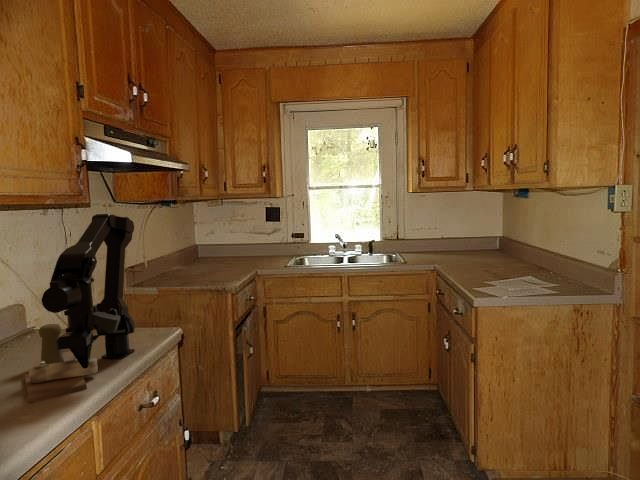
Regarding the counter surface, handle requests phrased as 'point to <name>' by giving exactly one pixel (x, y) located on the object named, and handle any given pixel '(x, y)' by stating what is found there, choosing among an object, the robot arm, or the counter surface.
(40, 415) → the counter surface
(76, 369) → the latch arm
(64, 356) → the keeper
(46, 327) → the cork
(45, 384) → the base plate
